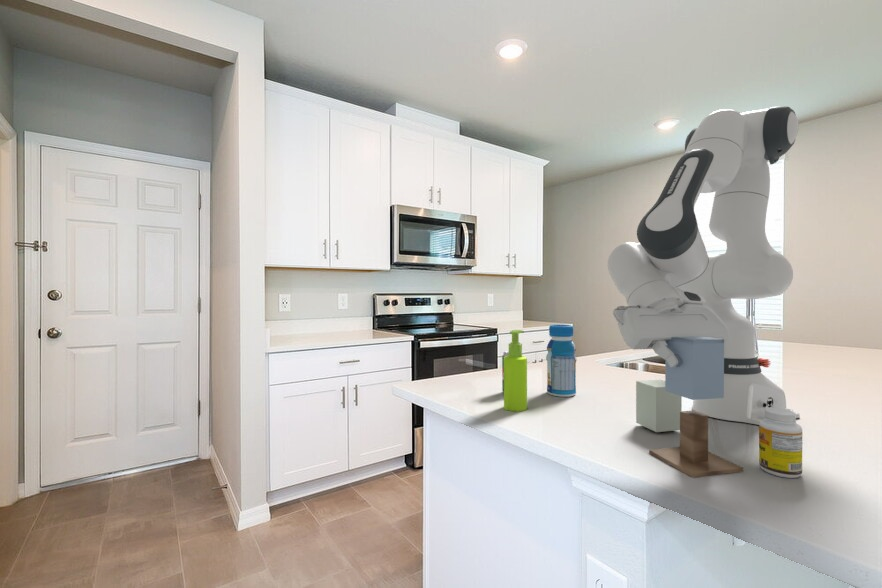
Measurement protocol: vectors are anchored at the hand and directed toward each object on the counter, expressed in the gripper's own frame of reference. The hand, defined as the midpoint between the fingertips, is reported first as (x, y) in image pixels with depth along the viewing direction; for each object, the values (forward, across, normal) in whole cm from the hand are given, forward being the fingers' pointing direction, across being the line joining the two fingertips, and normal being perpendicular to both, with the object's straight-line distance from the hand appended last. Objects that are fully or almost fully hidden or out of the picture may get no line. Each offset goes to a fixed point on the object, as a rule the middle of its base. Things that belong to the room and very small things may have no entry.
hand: (696, 364), depth 71 cm
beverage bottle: (-22, 0, +47) cm, 52 cm away
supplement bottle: (+16, +11, +8) cm, 21 cm away
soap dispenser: (-15, -18, +40) cm, 46 cm away
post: (+12, 0, +13) cm, 17 cm away
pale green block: (0, +6, +24) cm, 25 cm away
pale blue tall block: (+3, 0, +4) cm, 5 cm away
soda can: (-25, -14, +50) cm, 57 cm away
